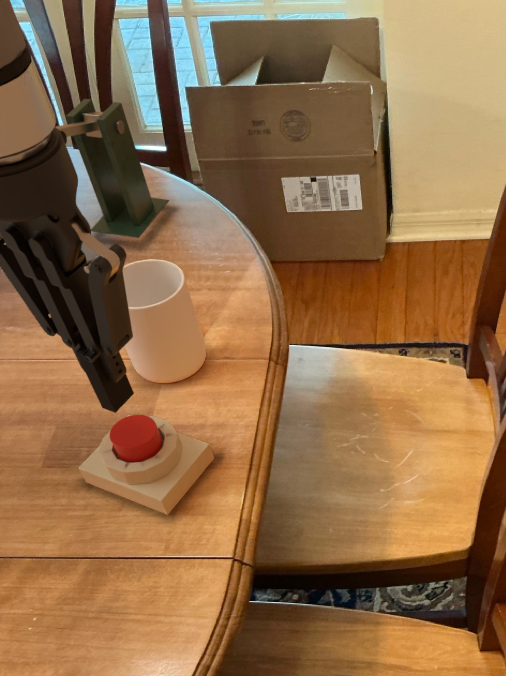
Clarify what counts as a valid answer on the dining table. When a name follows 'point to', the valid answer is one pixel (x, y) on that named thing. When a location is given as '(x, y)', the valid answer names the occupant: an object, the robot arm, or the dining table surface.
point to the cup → (162, 322)
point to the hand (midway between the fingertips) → (118, 400)
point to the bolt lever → (82, 127)
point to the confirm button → (136, 438)
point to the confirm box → (150, 469)
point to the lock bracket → (115, 173)
